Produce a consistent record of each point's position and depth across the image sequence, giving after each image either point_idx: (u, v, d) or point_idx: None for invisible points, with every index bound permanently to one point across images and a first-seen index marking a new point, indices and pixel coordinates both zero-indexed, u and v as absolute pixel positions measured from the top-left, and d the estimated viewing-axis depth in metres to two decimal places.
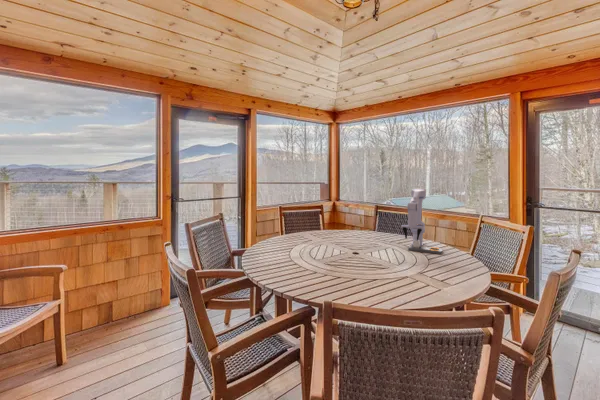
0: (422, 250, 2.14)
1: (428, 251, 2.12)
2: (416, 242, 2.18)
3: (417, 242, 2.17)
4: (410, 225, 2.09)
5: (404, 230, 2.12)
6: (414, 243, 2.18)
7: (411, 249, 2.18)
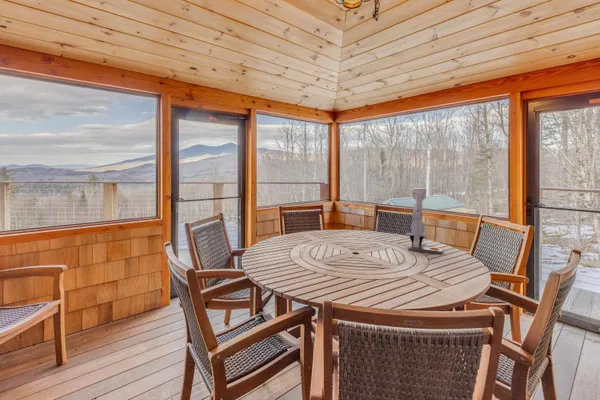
0: (422, 250, 2.14)
1: (428, 251, 2.12)
2: (416, 242, 2.18)
3: (417, 242, 2.17)
4: (415, 233, 2.17)
5: (411, 238, 2.19)
6: (414, 243, 2.18)
7: (411, 249, 2.18)
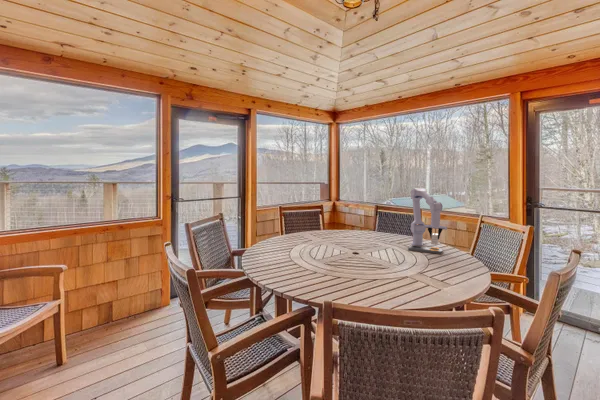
0: (422, 250, 2.14)
1: (428, 251, 2.12)
2: (434, 236, 2.11)
3: (435, 236, 2.10)
4: (433, 225, 2.10)
5: (429, 230, 2.12)
6: (432, 237, 2.12)
7: (411, 249, 2.18)
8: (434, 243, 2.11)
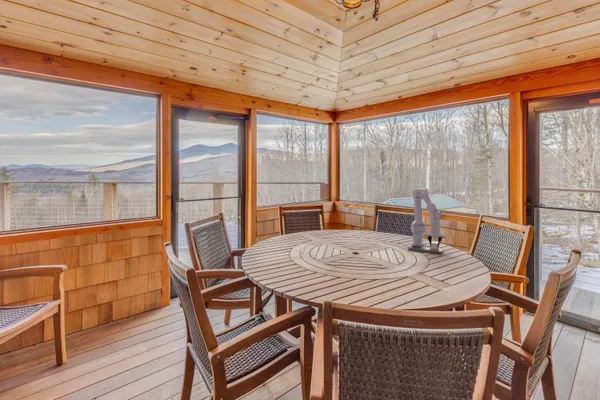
0: (422, 250, 2.14)
1: (428, 251, 2.12)
2: (434, 244, 2.11)
3: (435, 244, 2.11)
4: (433, 234, 2.11)
5: (429, 239, 2.13)
6: (432, 245, 2.12)
7: (411, 249, 2.18)
8: None
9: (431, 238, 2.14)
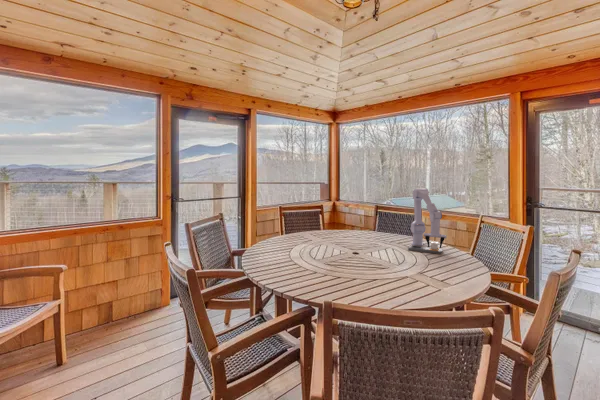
0: (422, 250, 2.14)
1: (428, 251, 2.12)
2: (434, 244, 2.11)
3: (435, 244, 2.11)
4: (433, 234, 2.11)
5: (427, 238, 2.13)
6: (432, 245, 2.12)
7: (411, 249, 2.18)
8: None
9: (429, 238, 2.15)
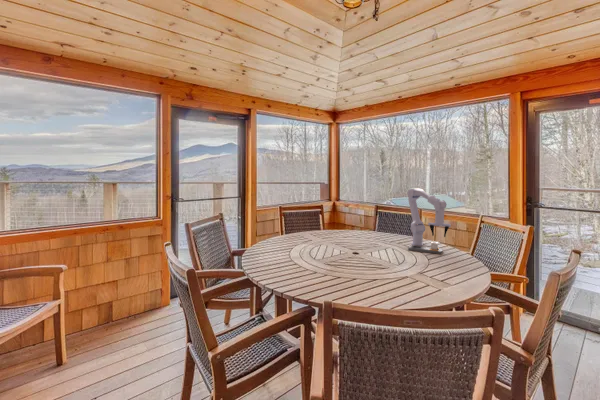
0: (422, 250, 2.14)
1: (428, 251, 2.12)
2: (434, 244, 2.11)
3: (435, 244, 2.11)
4: (437, 223, 2.14)
5: (431, 228, 2.17)
6: (432, 245, 2.12)
7: (411, 249, 2.18)
8: None
9: (433, 227, 2.18)
